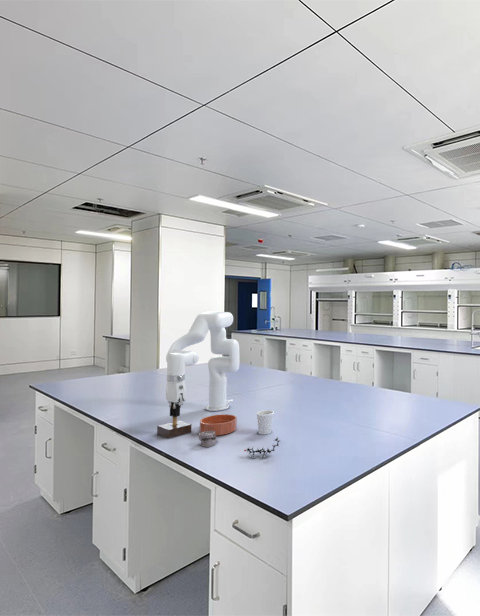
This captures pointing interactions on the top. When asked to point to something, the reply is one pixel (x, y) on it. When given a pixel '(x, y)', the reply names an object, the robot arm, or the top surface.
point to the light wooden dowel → (174, 419)
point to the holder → (174, 429)
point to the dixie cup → (265, 421)
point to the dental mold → (207, 438)
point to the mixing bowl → (219, 424)
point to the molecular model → (262, 449)
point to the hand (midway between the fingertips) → (174, 415)
